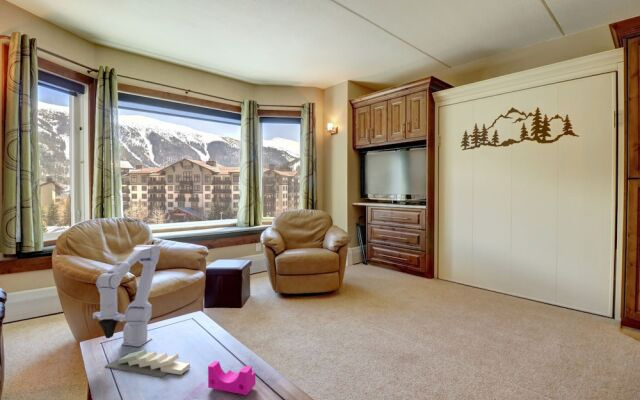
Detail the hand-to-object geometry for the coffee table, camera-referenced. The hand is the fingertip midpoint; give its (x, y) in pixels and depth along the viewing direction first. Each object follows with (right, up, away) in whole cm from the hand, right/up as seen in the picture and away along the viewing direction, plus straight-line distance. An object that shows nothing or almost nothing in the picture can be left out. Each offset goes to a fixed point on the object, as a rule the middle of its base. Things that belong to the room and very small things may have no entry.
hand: (109, 337), depth 127 cm
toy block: (+53, -11, -15) cm, 56 cm away
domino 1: (+10, -9, -1) cm, 14 cm away
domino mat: (+15, -10, -2) cm, 18 cm away
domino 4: (+25, -9, -5) cm, 27 cm away
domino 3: (+20, -9, -3) cm, 22 cm away
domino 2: (+15, -9, -2) cm, 18 cm away
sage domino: (+5, -9, +1) cm, 11 cm away
